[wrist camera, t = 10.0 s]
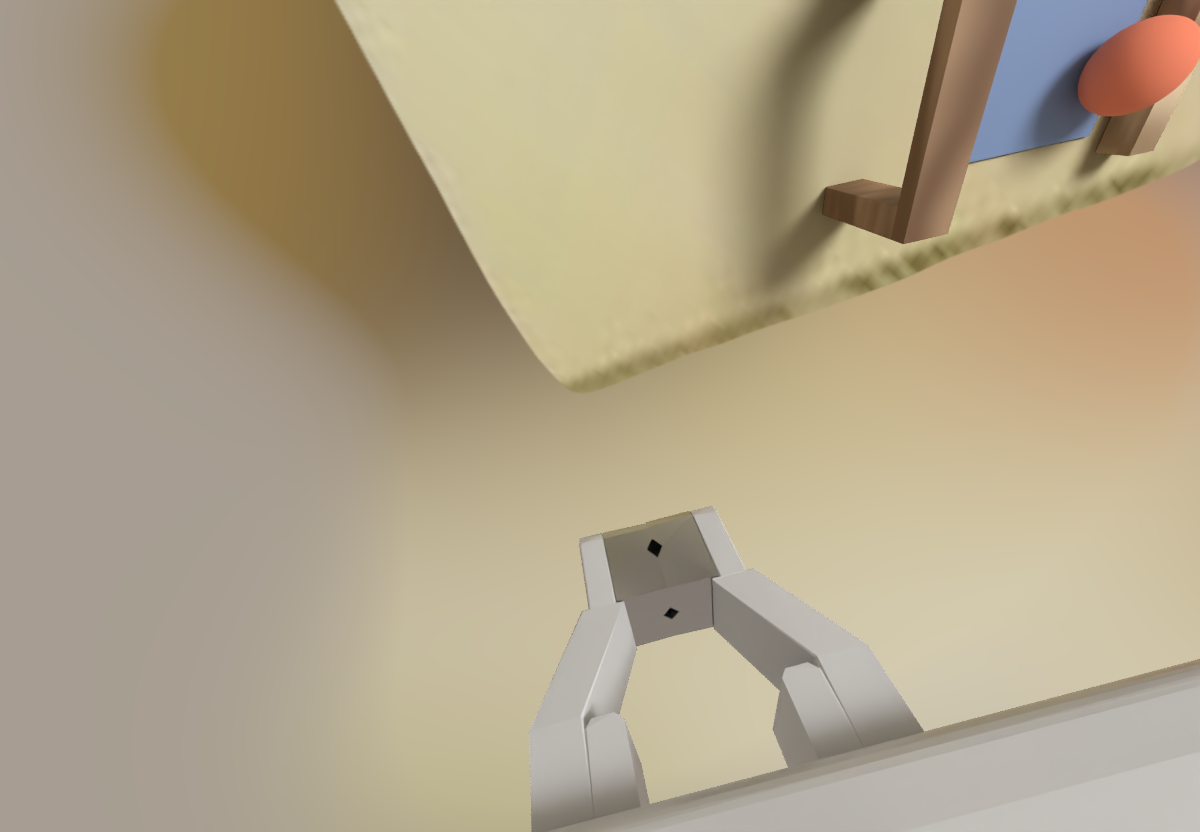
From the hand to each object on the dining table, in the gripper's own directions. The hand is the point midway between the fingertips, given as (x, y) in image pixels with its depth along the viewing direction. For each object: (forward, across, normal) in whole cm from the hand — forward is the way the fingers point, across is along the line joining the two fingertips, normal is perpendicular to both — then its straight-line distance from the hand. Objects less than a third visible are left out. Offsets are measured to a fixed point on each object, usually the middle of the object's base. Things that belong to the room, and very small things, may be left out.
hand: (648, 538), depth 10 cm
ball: (+26, -42, -2) cm, 49 cm away
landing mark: (+29, -37, -4) cm, 47 cm away
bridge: (+29, -23, -4) cm, 37 cm away
